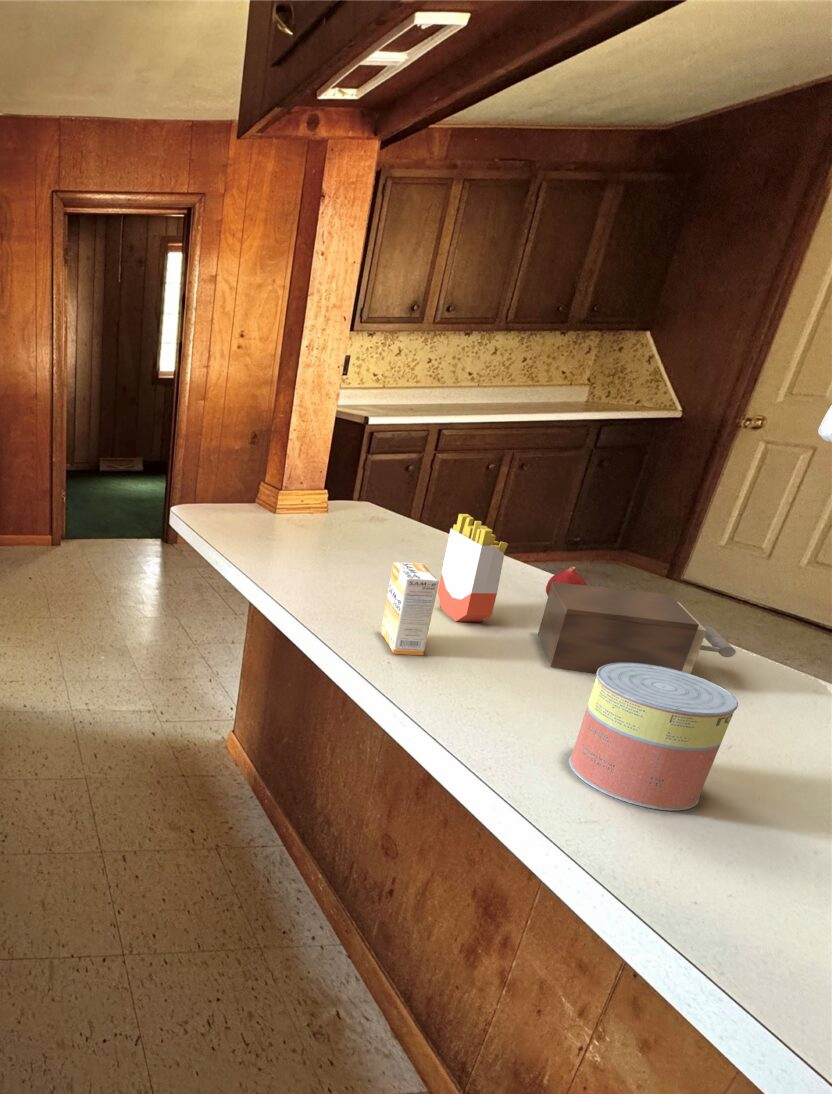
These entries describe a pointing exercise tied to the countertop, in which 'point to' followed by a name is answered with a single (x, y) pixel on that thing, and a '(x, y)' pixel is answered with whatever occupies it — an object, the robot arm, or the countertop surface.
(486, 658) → the countertop surface
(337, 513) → the countertop surface
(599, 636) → the cabinet
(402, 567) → the supplement box
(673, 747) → the canned food
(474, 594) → the french fries container
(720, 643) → the drawer
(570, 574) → the onion
